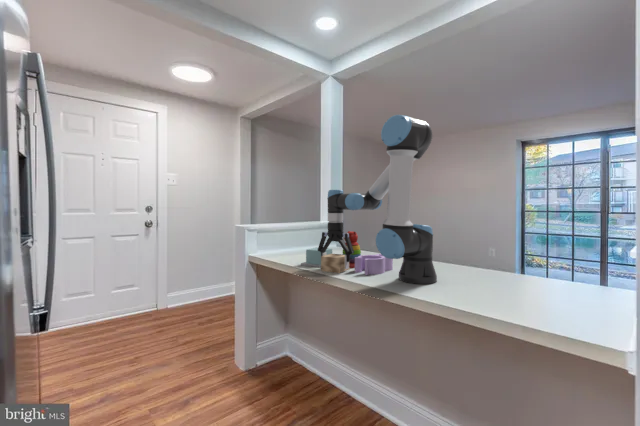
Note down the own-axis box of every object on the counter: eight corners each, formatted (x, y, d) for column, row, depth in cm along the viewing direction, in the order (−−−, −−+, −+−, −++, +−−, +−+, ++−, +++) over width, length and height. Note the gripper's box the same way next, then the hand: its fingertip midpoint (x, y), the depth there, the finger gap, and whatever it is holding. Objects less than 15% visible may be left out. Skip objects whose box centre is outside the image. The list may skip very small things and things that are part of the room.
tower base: (337, 263, 169) (337, 248, 168) (323, 267, 157) (323, 251, 156) (315, 261, 176) (315, 246, 176) (300, 265, 164) (300, 249, 164)
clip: (379, 266, 161) (379, 252, 161) (399, 270, 152) (399, 256, 151) (350, 271, 149) (350, 256, 149) (370, 276, 139) (370, 260, 139)
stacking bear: (337, 264, 165) (337, 230, 164) (354, 263, 169) (354, 230, 169) (347, 268, 155) (347, 232, 155) (365, 266, 159) (365, 231, 159)
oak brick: (349, 269, 154) (349, 255, 154) (339, 273, 145) (339, 258, 145) (331, 267, 159) (331, 253, 159) (321, 271, 150) (321, 256, 150)
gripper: (361, 222, 148) (361, 268, 149) (318, 220, 161) (318, 263, 161) (354, 223, 142) (354, 271, 143) (310, 221, 154) (310, 265, 155)
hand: (335, 267), depth 152 cm, fingers open, 11 cm apart
